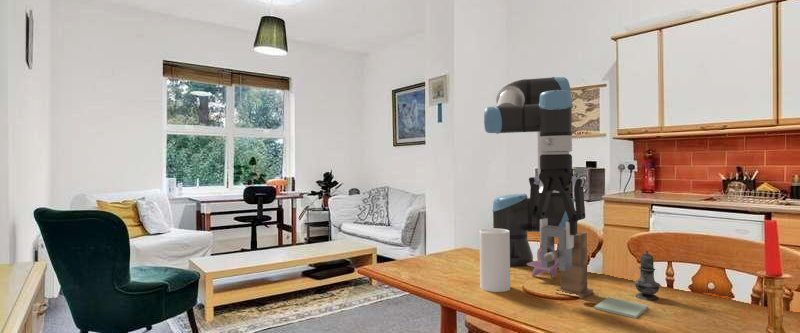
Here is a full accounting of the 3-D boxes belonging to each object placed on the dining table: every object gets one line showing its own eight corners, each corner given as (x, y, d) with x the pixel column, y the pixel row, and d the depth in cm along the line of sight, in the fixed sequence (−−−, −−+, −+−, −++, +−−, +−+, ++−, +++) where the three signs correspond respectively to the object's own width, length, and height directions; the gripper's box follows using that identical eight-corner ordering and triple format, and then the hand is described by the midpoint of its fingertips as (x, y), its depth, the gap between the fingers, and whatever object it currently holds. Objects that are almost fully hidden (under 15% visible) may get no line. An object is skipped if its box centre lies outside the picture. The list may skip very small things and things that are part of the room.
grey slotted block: (549, 263, 110) (548, 225, 110) (572, 267, 106) (571, 227, 105) (541, 266, 107) (541, 227, 107) (565, 271, 103) (564, 230, 103)
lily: (578, 284, 125) (569, 252, 129) (569, 277, 116) (560, 243, 120) (538, 291, 130) (530, 260, 135) (526, 285, 121) (519, 253, 126)
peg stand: (566, 287, 118) (566, 229, 118) (592, 292, 113) (592, 232, 113) (533, 304, 105) (532, 239, 105) (560, 311, 100) (560, 243, 100)
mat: (608, 299, 108) (608, 297, 108) (648, 308, 101) (648, 305, 101) (594, 308, 101) (594, 306, 101) (635, 318, 95) (635, 315, 95)
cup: (476, 289, 117) (475, 231, 117) (484, 282, 125) (484, 227, 124) (506, 293, 113) (505, 234, 113) (513, 285, 121) (512, 229, 120)
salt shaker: (651, 302, 105) (651, 254, 105) (629, 296, 110) (628, 249, 110) (665, 298, 108) (665, 251, 107) (643, 292, 113) (642, 247, 113)
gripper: (513, 154, 110) (514, 243, 110) (588, 153, 96) (589, 254, 97) (528, 153, 115) (529, 238, 116) (601, 152, 102) (601, 248, 102)
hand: (556, 245), depth 106 cm, fingers closed on grey slotted block, 6 cm apart
